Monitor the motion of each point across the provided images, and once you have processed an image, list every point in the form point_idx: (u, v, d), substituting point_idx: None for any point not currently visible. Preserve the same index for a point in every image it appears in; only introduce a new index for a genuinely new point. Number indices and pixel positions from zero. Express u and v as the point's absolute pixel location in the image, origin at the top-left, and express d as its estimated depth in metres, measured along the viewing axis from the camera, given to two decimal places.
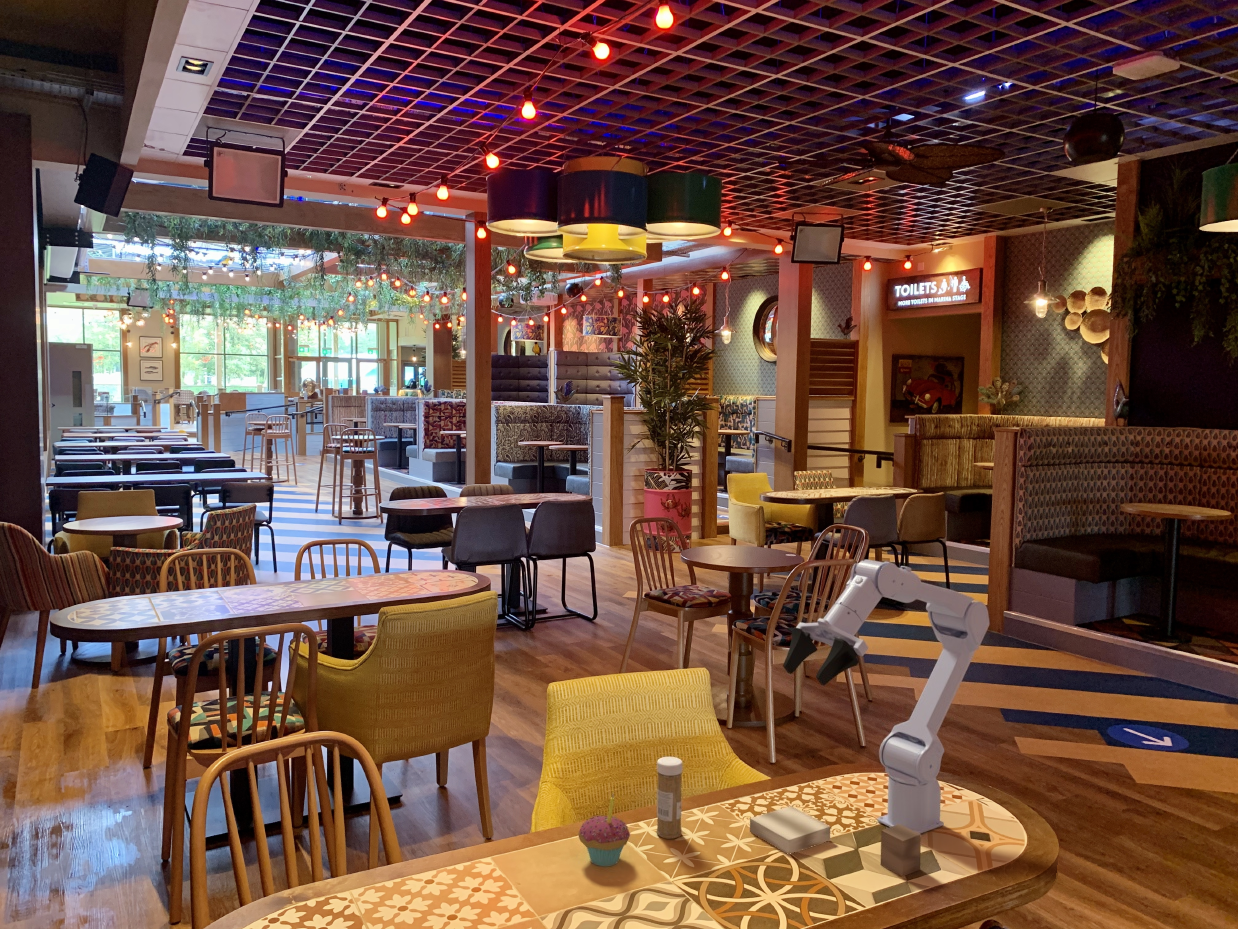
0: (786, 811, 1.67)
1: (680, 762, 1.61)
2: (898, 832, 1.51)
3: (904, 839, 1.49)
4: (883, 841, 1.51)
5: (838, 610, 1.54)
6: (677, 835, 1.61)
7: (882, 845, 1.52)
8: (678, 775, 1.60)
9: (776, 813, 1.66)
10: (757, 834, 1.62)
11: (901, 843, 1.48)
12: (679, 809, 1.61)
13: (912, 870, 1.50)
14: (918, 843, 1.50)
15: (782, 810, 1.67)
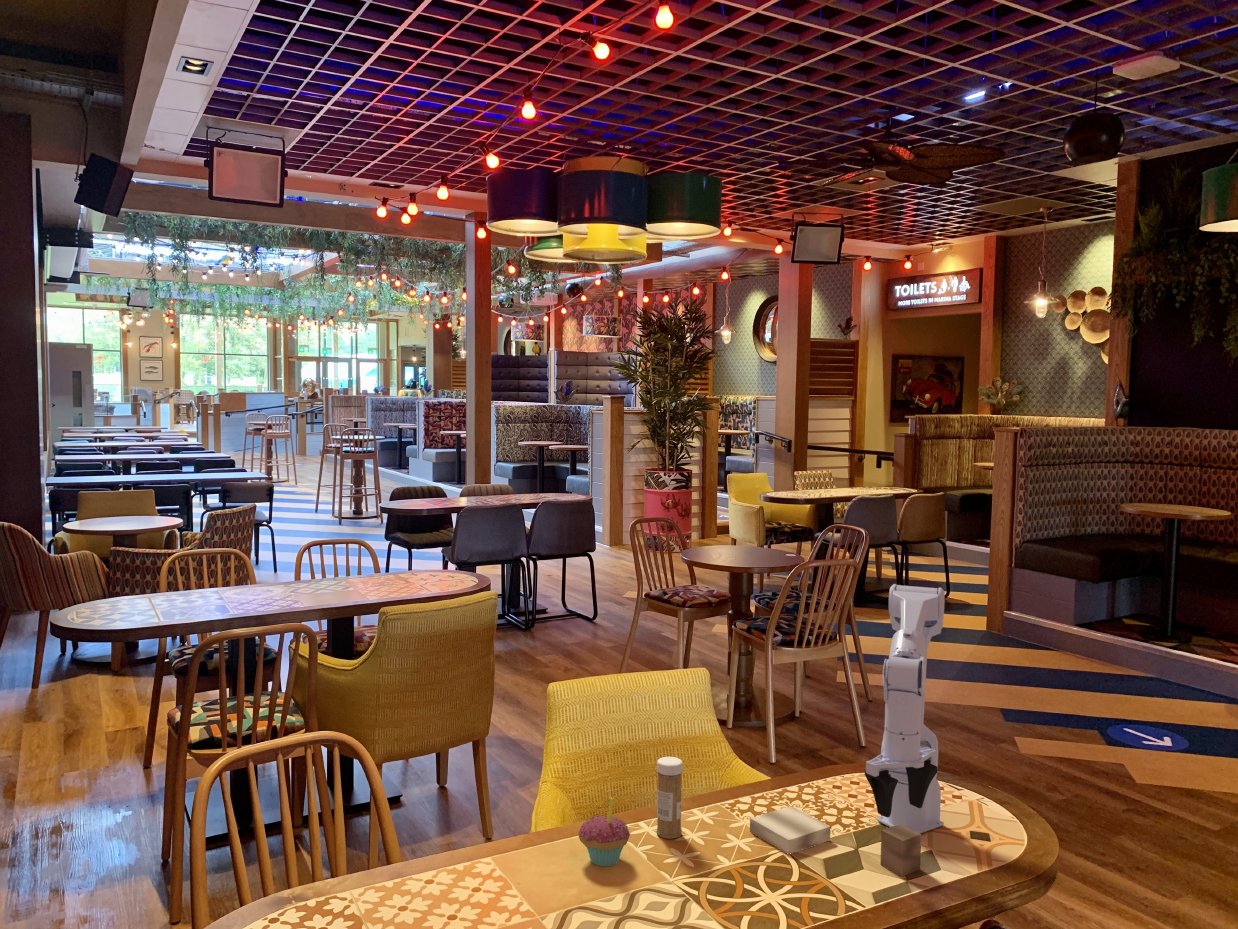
0: (786, 811, 1.67)
1: (680, 762, 1.61)
2: (898, 832, 1.51)
3: (904, 839, 1.49)
4: (884, 841, 1.51)
5: (917, 741, 1.48)
6: (677, 835, 1.61)
7: (882, 845, 1.52)
8: (678, 775, 1.60)
9: (776, 813, 1.66)
10: (757, 834, 1.62)
11: (901, 843, 1.48)
12: (679, 809, 1.61)
13: (912, 870, 1.50)
14: (918, 843, 1.50)
15: (782, 810, 1.67)
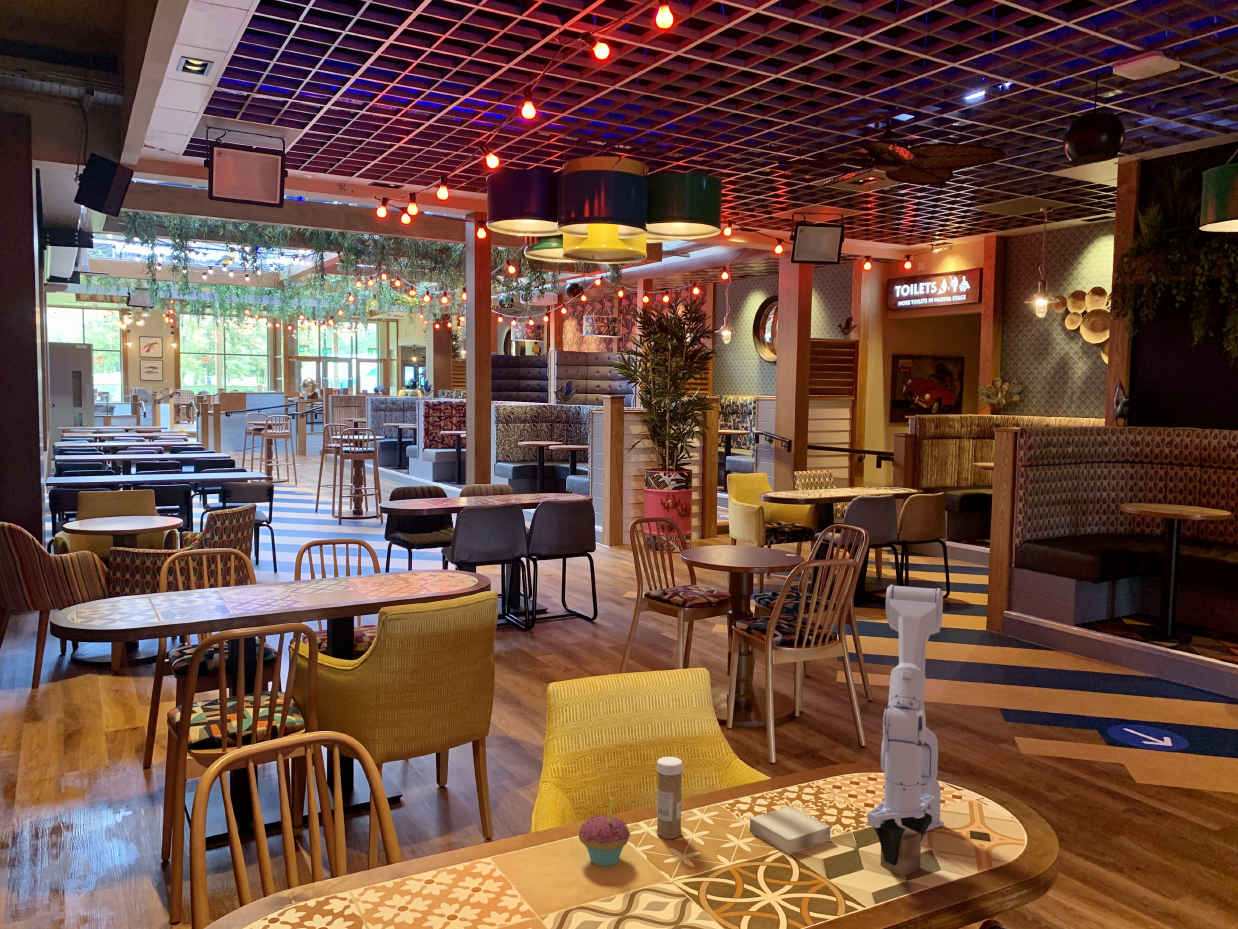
0: (786, 811, 1.67)
1: (680, 762, 1.61)
2: None
3: (904, 839, 1.49)
4: None
5: (918, 791, 1.49)
6: (677, 835, 1.61)
7: None
8: (678, 775, 1.60)
9: (776, 813, 1.66)
10: (757, 834, 1.62)
11: (901, 843, 1.48)
12: (679, 809, 1.61)
13: (912, 870, 1.50)
14: (918, 843, 1.50)
15: (782, 810, 1.67)
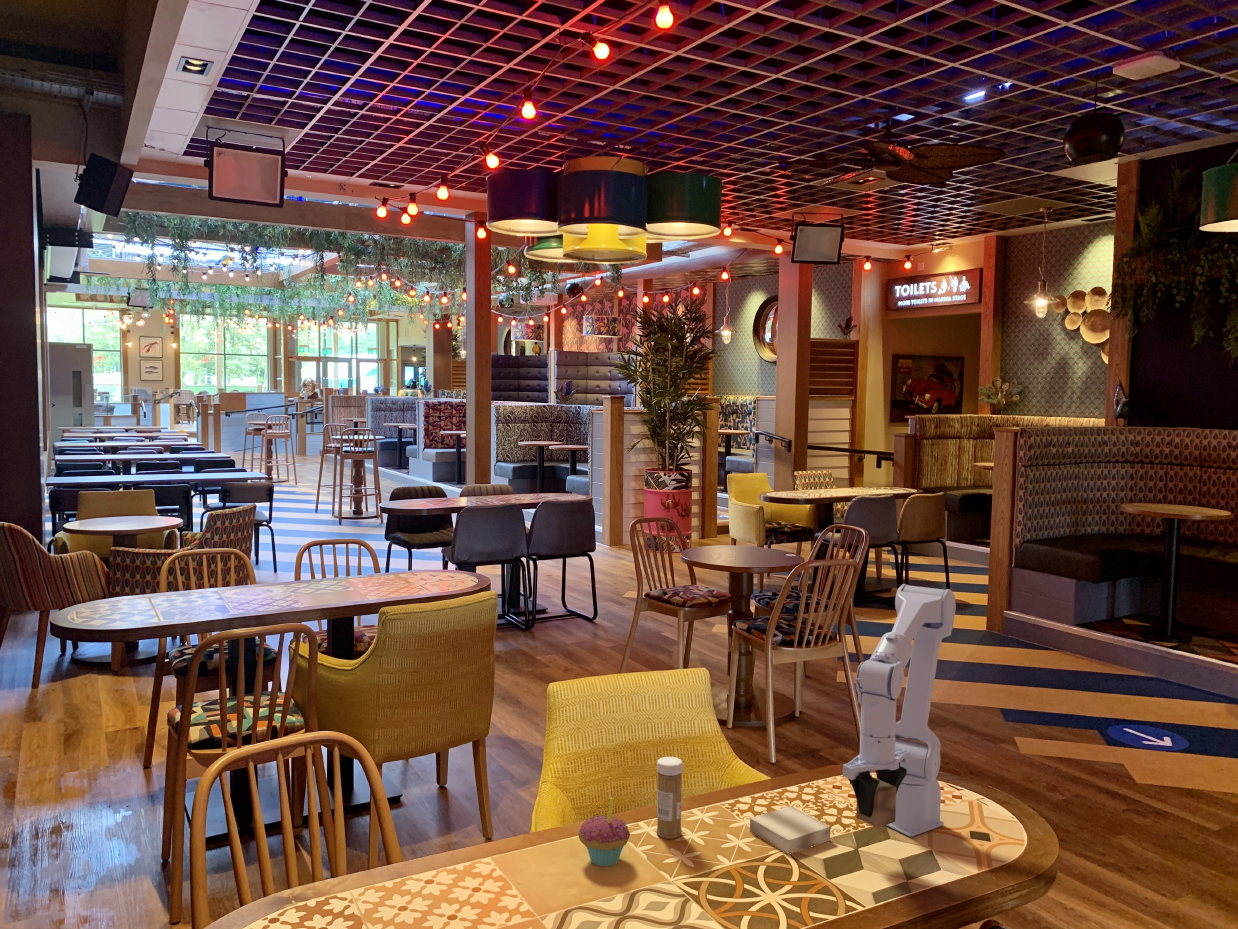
0: (786, 811, 1.67)
1: (680, 762, 1.61)
2: None
3: (879, 791, 1.51)
4: None
5: (892, 744, 1.51)
6: (677, 835, 1.61)
7: None
8: (678, 775, 1.60)
9: (776, 813, 1.66)
10: (757, 834, 1.62)
11: (876, 795, 1.50)
12: (679, 809, 1.61)
13: (887, 822, 1.52)
14: (893, 795, 1.52)
15: (782, 810, 1.67)
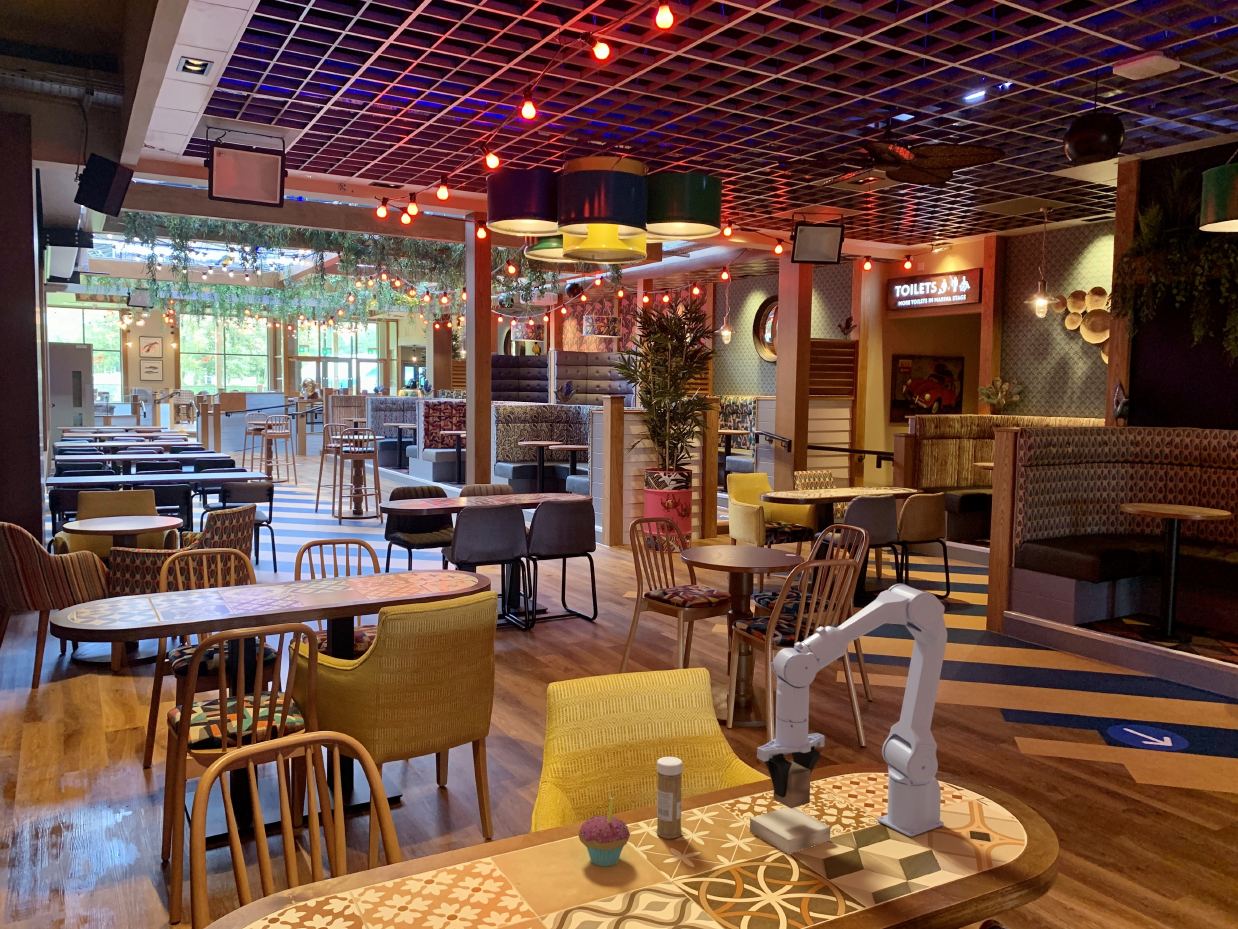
0: (786, 811, 1.67)
1: (680, 762, 1.61)
2: None
3: (793, 773, 1.59)
4: None
5: (805, 728, 1.59)
6: (677, 835, 1.61)
7: None
8: (678, 775, 1.60)
9: (776, 813, 1.66)
10: (757, 834, 1.62)
11: (790, 777, 1.58)
12: (679, 809, 1.61)
13: (801, 803, 1.60)
14: (808, 778, 1.60)
15: (782, 810, 1.67)
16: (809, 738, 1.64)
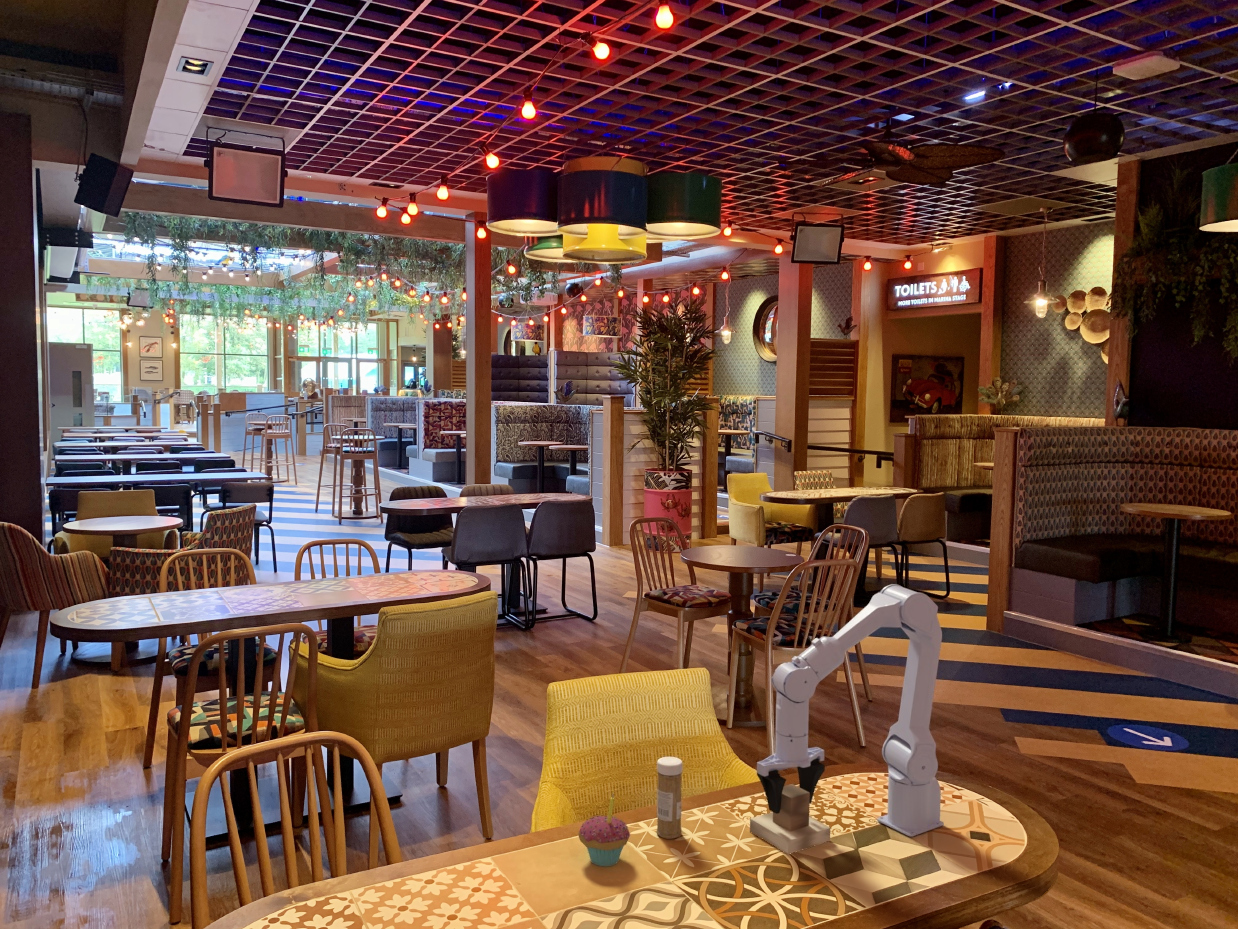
0: None
1: (680, 762, 1.61)
2: (788, 790, 1.62)
3: (792, 796, 1.59)
4: None
5: (805, 742, 1.59)
6: (677, 835, 1.61)
7: None
8: (678, 775, 1.60)
9: None
10: (757, 834, 1.62)
11: (789, 800, 1.59)
12: (679, 809, 1.61)
13: (801, 826, 1.60)
14: (807, 801, 1.61)
15: None
16: (809, 752, 1.64)
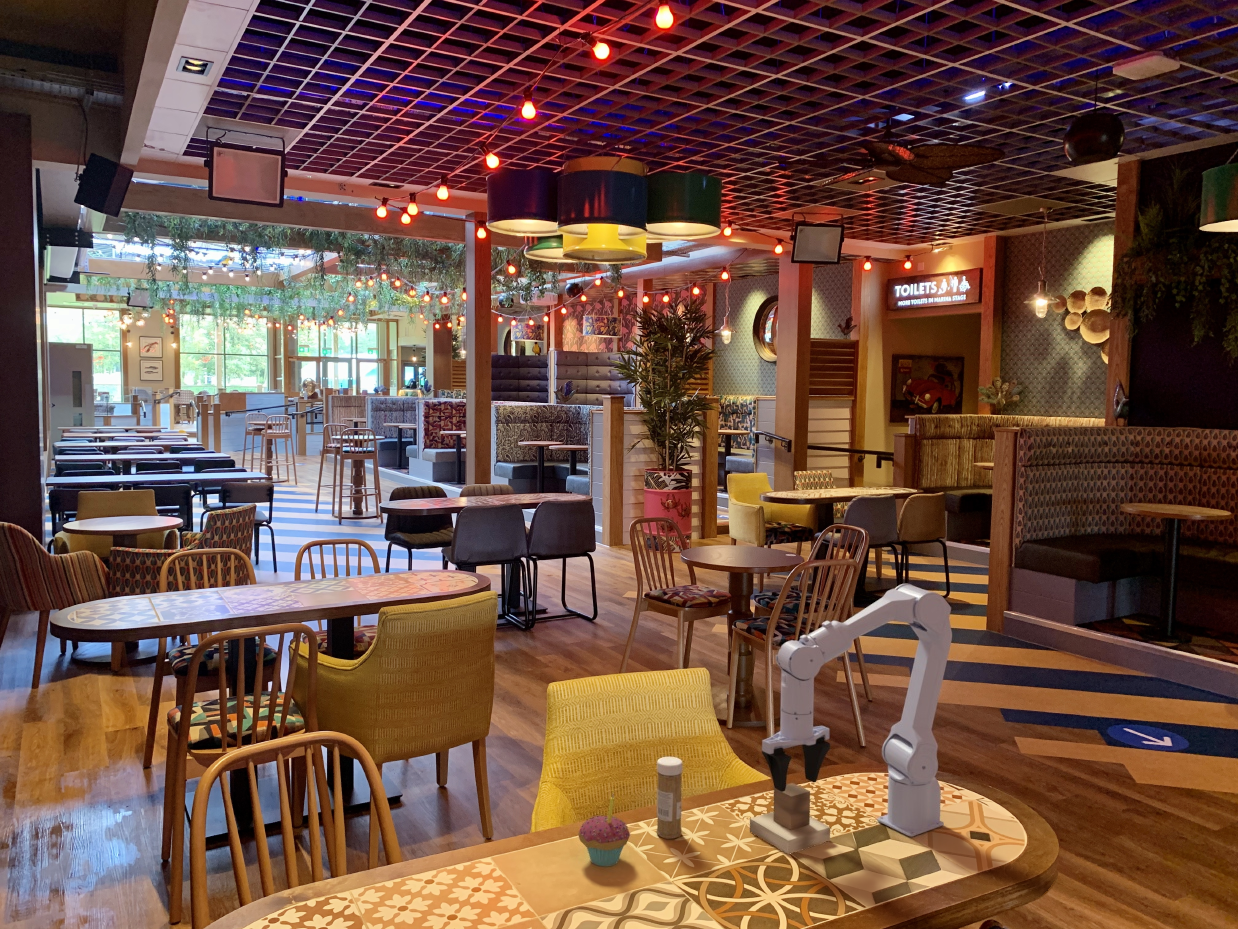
0: None
1: (680, 762, 1.61)
2: (789, 789, 1.62)
3: (793, 795, 1.59)
4: (776, 798, 1.62)
5: (810, 720, 1.59)
6: (677, 835, 1.61)
7: (774, 802, 1.62)
8: (678, 775, 1.60)
9: None
10: (757, 834, 1.62)
11: (790, 798, 1.59)
12: (679, 809, 1.61)
13: (801, 824, 1.60)
14: (807, 799, 1.61)
15: None
16: (814, 731, 1.63)
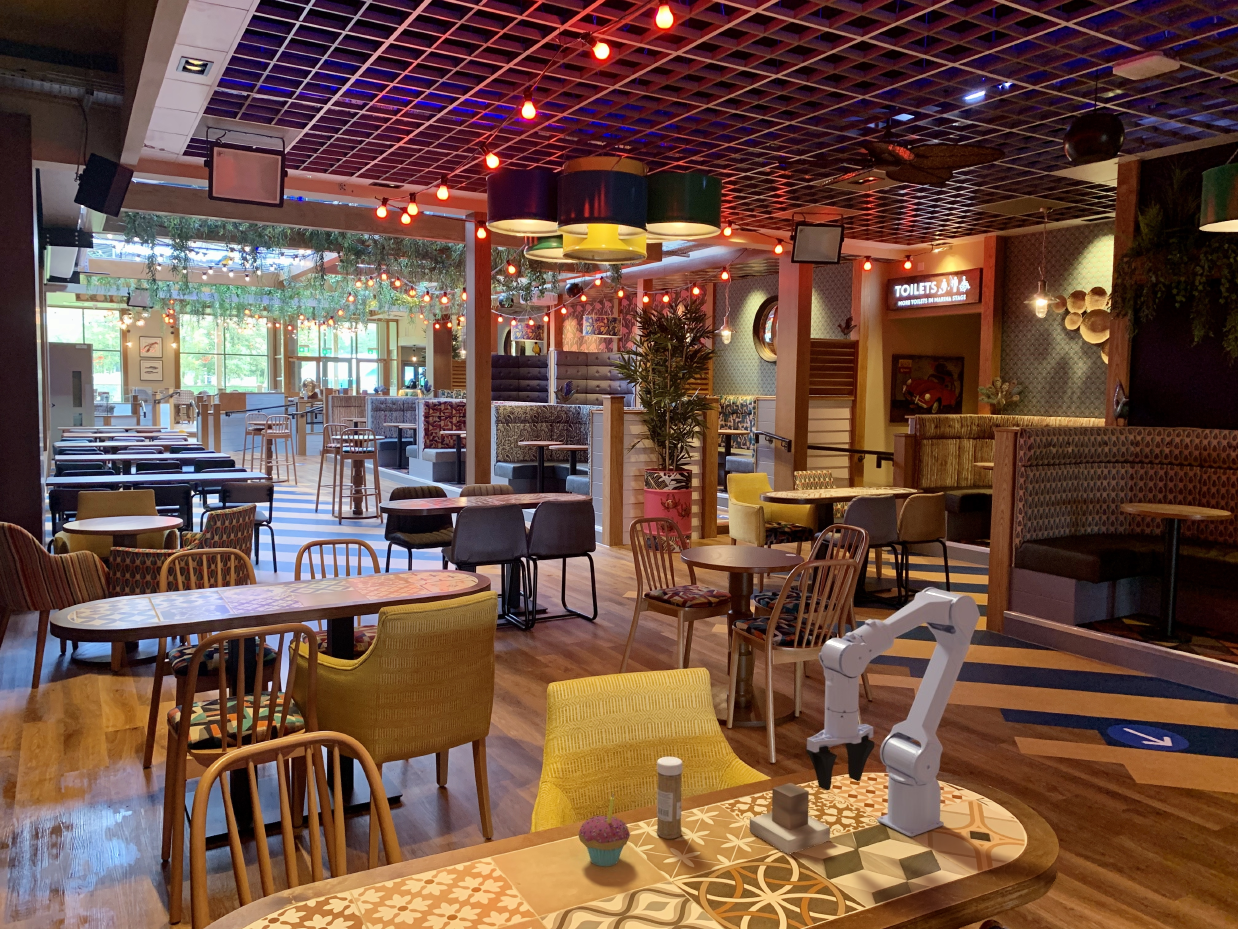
0: None
1: (680, 762, 1.61)
2: (787, 789, 1.62)
3: (792, 795, 1.59)
4: (774, 798, 1.62)
5: (855, 718, 1.57)
6: (677, 835, 1.61)
7: (773, 802, 1.62)
8: (678, 775, 1.60)
9: None
10: (757, 834, 1.62)
11: (789, 799, 1.59)
12: (679, 809, 1.61)
13: (800, 824, 1.60)
14: (806, 799, 1.61)
15: None
16: (858, 729, 1.62)
